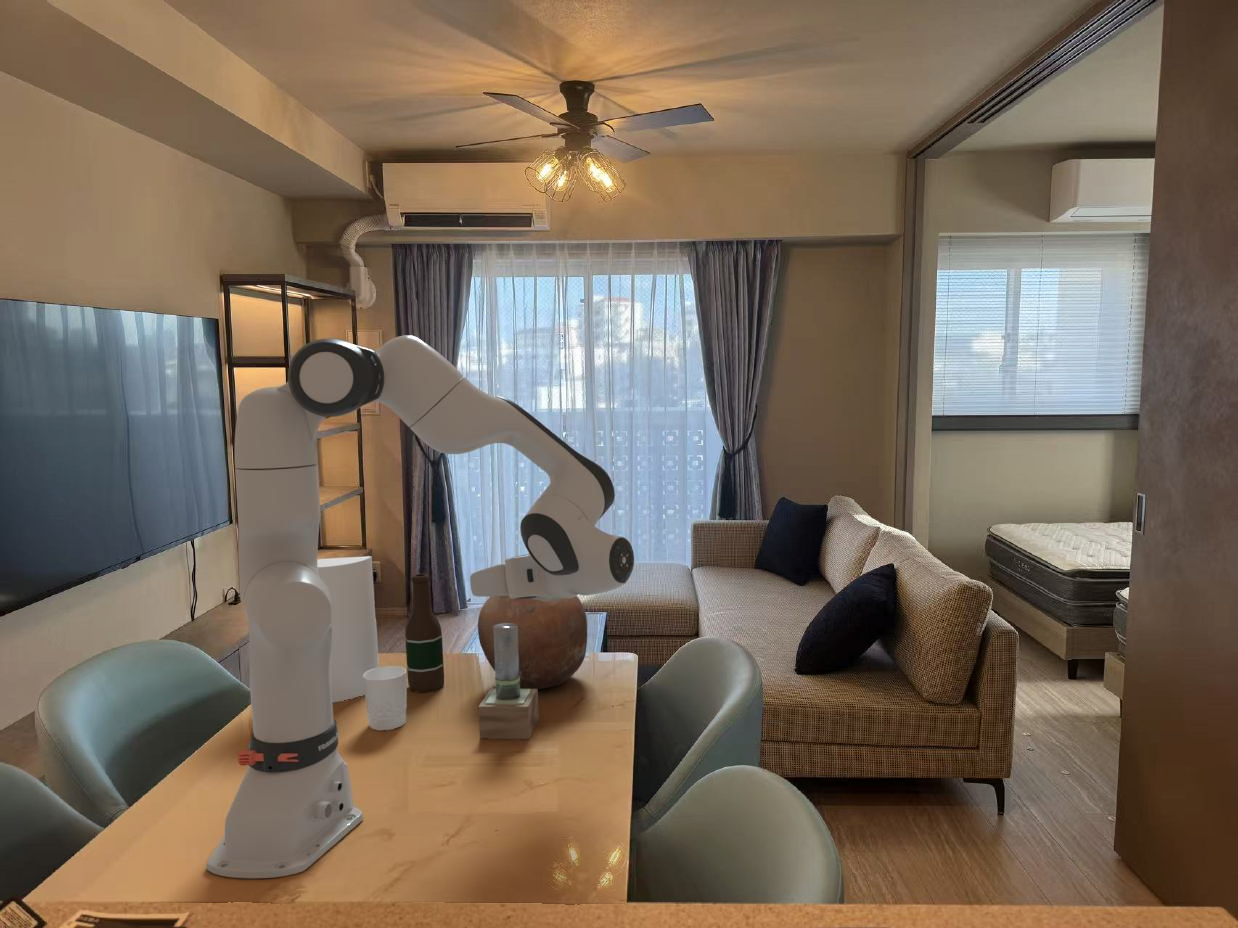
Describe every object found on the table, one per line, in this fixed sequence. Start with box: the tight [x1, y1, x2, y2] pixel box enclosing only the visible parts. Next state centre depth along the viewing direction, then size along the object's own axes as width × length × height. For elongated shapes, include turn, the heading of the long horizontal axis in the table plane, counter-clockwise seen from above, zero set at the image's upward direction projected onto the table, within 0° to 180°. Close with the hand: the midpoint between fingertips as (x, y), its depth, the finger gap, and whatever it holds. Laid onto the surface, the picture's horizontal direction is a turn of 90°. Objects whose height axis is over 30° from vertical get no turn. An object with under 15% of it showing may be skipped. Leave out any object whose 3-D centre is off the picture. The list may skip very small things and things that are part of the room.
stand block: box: [477, 688, 540, 740], centre depth 161 cm, size 9×9×6 cm
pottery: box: [477, 595, 588, 690], centre depth 183 cm, size 23×23×25 cm
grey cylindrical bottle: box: [493, 623, 521, 700], centre depth 160 cm, size 5×5×13 cm
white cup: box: [363, 665, 408, 732], centre depth 165 cm, size 8×8×10 cm
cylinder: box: [317, 555, 380, 703], centre depth 184 cm, size 17×17×28 cm
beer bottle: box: [404, 573, 445, 693], centre depth 184 cm, size 8×8×24 cm
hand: (495, 584), depth 151 cm, fingers open, 8 cm apart
